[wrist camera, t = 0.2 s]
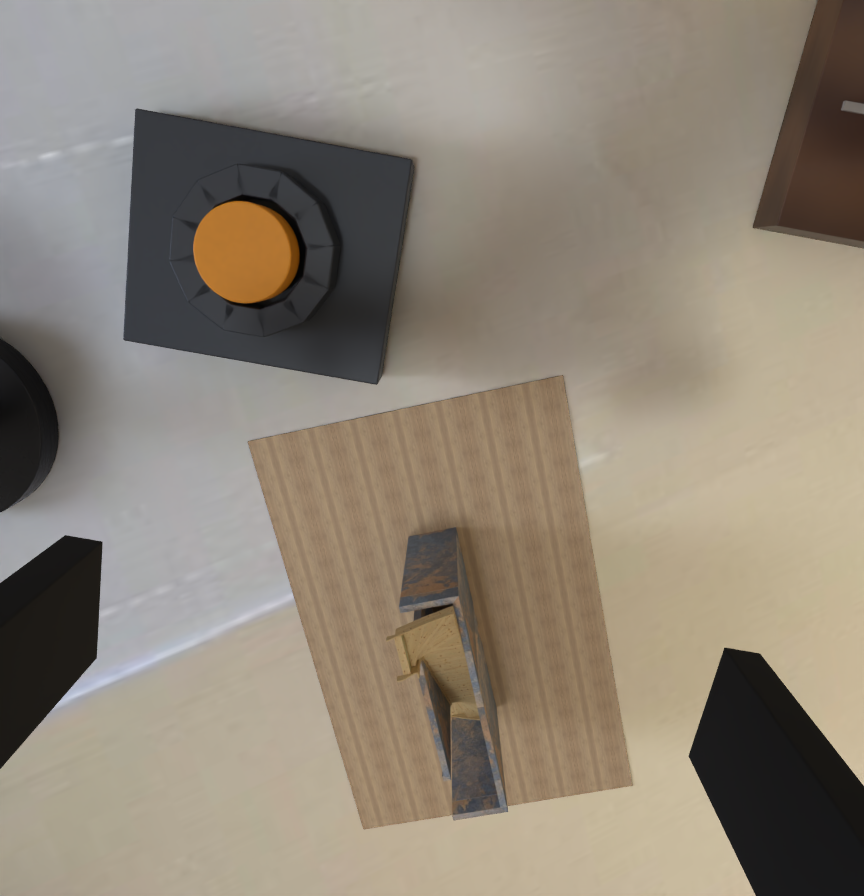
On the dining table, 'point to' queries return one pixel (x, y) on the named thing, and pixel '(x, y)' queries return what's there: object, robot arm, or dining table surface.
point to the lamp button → (246, 252)
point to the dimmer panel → (822, 135)
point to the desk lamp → (23, 428)
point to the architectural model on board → (451, 602)
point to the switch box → (310, 216)
